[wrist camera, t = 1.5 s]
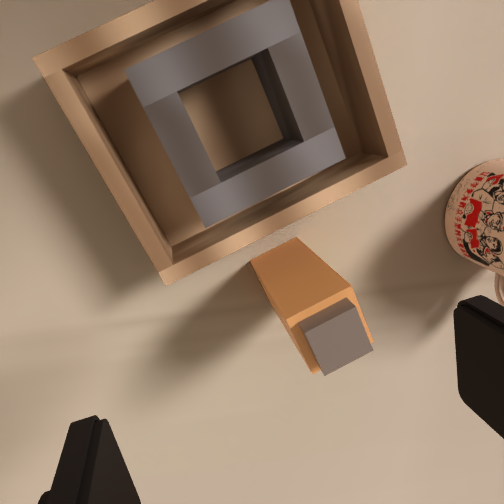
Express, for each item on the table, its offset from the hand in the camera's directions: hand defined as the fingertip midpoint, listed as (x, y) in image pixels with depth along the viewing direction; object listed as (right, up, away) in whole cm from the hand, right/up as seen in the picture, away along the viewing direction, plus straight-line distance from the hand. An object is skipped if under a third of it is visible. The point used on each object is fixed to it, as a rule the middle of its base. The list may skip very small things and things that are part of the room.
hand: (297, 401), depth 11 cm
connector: (+1, +2, +22) cm, 22 cm away
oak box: (-3, +13, +18) cm, 22 cm away
